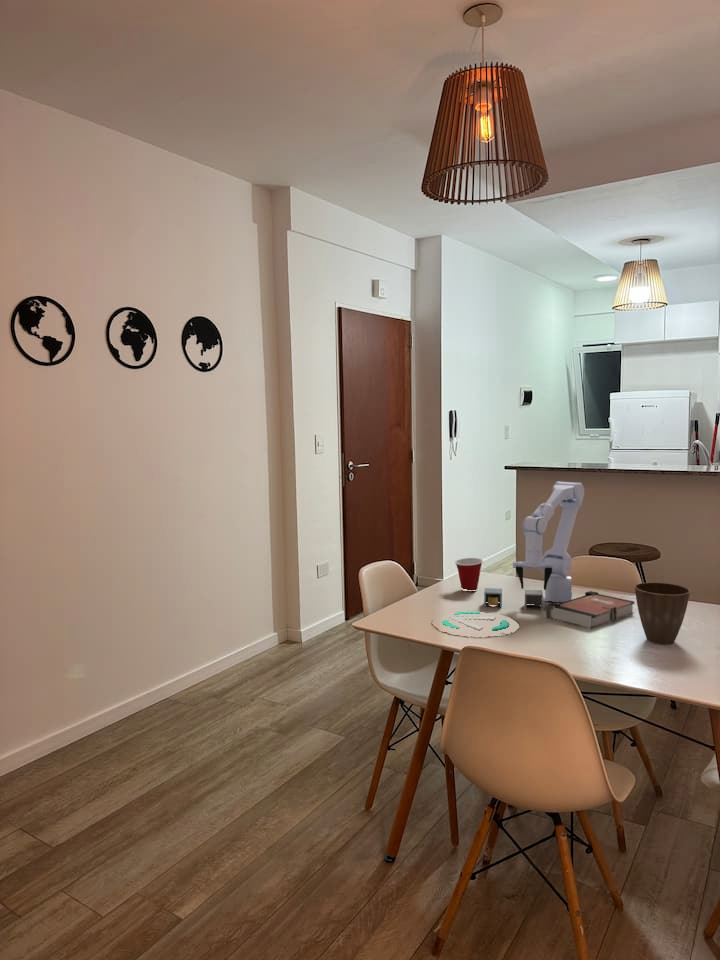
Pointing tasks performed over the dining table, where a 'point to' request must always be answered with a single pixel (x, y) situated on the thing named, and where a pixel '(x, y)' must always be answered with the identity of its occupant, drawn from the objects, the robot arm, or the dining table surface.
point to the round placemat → (503, 623)
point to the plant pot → (661, 610)
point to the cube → (493, 600)
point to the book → (590, 610)
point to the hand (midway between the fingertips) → (533, 588)
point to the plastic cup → (469, 572)
